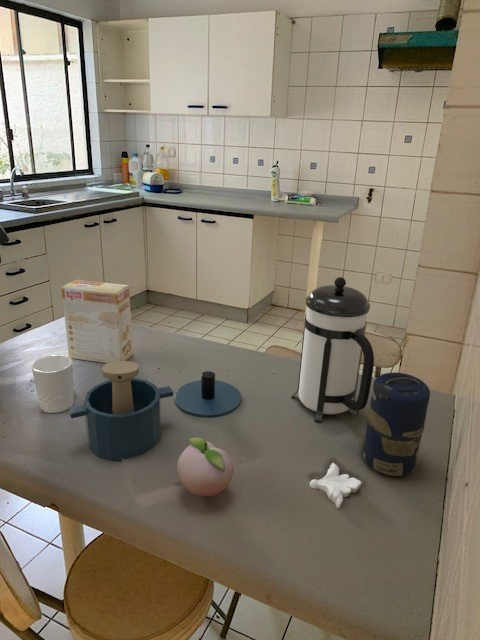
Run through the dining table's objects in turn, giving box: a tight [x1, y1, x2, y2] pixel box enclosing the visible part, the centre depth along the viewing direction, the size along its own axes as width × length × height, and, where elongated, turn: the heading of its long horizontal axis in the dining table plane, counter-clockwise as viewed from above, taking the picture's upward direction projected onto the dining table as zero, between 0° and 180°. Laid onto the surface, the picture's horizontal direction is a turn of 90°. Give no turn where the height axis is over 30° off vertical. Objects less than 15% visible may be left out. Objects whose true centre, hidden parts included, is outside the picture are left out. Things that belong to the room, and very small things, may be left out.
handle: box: [101, 360, 140, 414], centre depth 87 cm, size 5×6×15 cm
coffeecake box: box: [61, 279, 134, 364], centre depth 118 cm, size 15×7×20 cm, turn 77°
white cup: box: [31, 354, 75, 414], centre depth 98 cm, size 8×8×10 cm
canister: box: [362, 372, 431, 477], centre depth 83 cm, size 10×10×18 cm
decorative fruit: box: [176, 437, 235, 497], centre depth 75 cm, size 9×8×10 cm
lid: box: [174, 370, 242, 418], centre depth 102 cm, size 15×15×7 cm
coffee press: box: [291, 276, 375, 424], centre depth 96 cm, size 17×16×30 cm
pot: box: [68, 377, 174, 462], centre depth 88 cm, size 14×19×10 cm
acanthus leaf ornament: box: [309, 462, 362, 510], centre depth 79 cm, size 8×7×2 cm
